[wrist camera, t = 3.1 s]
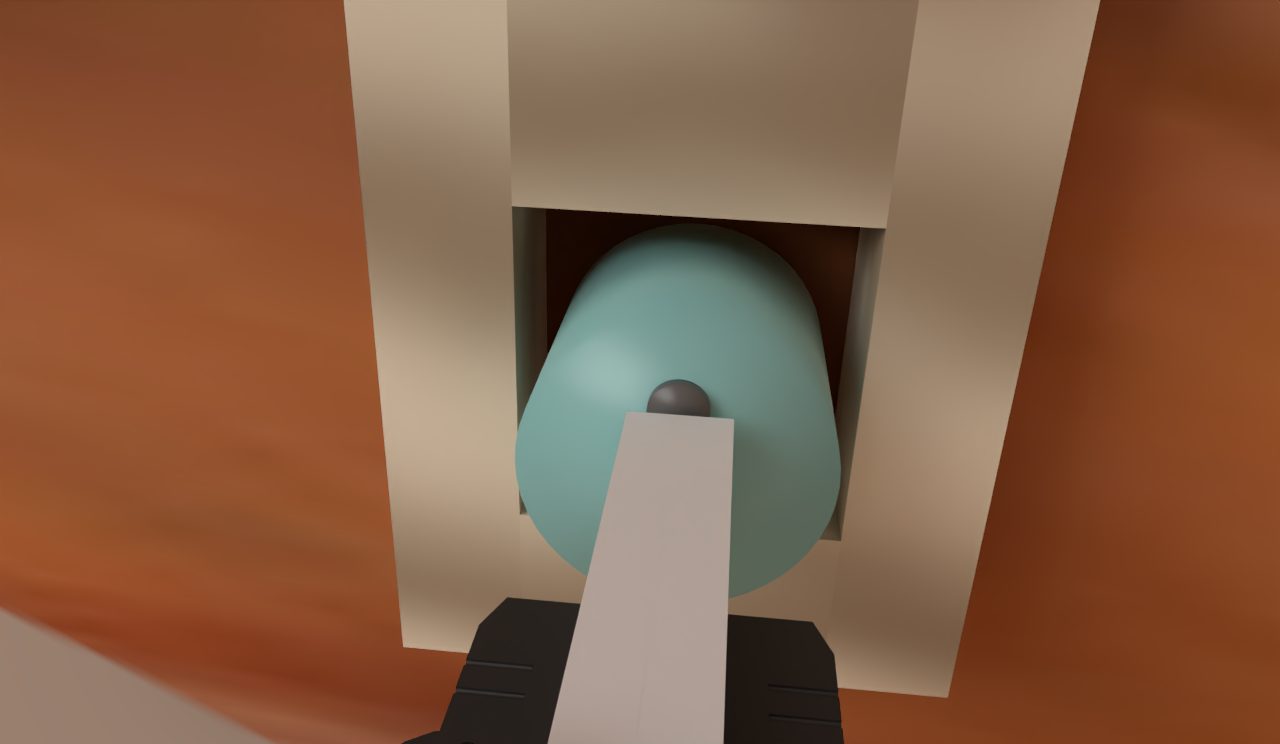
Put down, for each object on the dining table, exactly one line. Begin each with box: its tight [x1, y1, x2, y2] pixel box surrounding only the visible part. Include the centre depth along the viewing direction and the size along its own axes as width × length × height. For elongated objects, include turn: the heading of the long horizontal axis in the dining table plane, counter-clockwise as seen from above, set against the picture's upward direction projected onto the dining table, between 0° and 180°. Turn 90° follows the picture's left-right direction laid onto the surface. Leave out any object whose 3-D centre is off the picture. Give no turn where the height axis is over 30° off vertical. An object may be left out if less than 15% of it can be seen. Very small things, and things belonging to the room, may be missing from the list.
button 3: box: [515, 224, 841, 599], centre depth 17 cm, size 5×5×5 cm
